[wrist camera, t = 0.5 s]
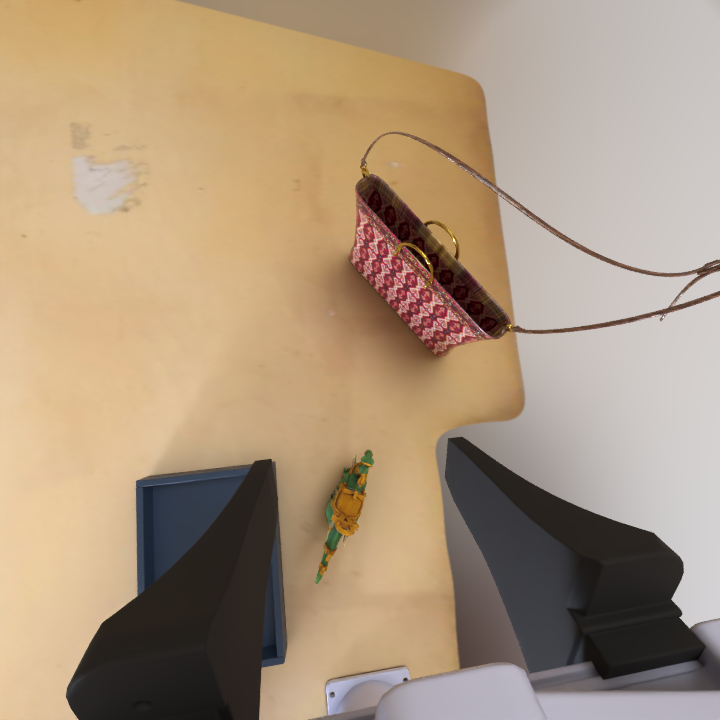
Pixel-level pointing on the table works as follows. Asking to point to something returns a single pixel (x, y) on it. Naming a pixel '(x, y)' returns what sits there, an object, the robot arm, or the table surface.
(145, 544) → the tray
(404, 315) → the handbag
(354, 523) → the figurine
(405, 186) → the table surface
